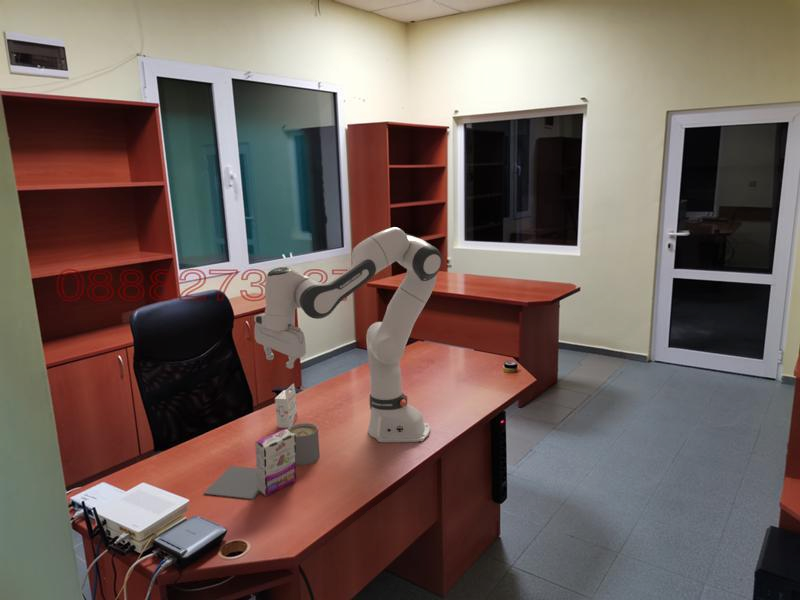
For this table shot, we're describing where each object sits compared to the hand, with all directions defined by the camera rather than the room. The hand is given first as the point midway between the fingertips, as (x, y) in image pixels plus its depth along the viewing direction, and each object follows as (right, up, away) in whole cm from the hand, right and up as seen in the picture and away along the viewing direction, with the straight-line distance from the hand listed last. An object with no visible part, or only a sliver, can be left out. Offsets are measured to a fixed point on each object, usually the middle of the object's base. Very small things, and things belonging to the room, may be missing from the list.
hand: (279, 363), depth 174 cm
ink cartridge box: (-5, -27, +39) cm, 48 cm away
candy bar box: (0, -36, -5) cm, 37 cm away
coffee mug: (+6, -32, +14) cm, 36 cm away
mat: (-11, -36, -2) cm, 38 cm away
